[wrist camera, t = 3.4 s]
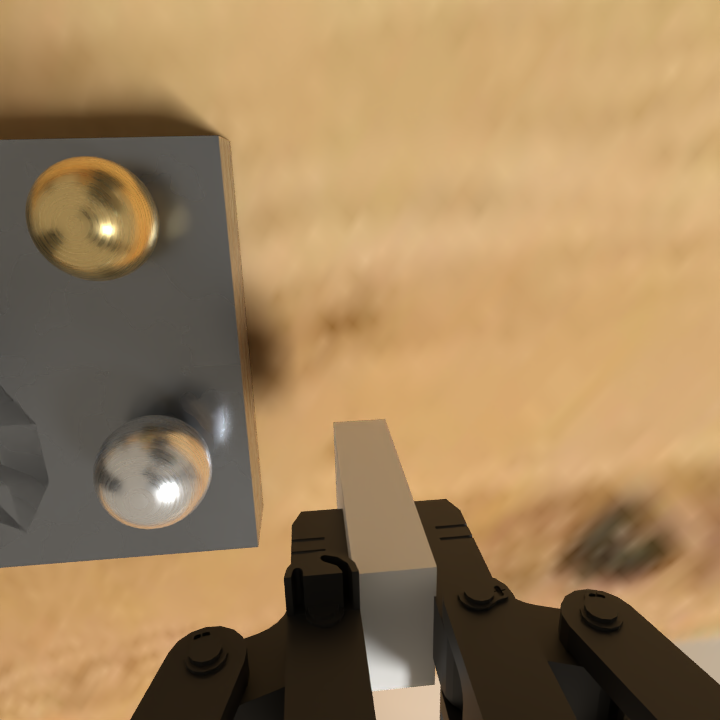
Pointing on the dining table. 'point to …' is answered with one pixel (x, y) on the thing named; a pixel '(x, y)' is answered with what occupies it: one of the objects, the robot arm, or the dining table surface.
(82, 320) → the plate
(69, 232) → the brass ball
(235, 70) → the dining table surface
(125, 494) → the steel ball
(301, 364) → the dining table surface
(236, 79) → the dining table surface
